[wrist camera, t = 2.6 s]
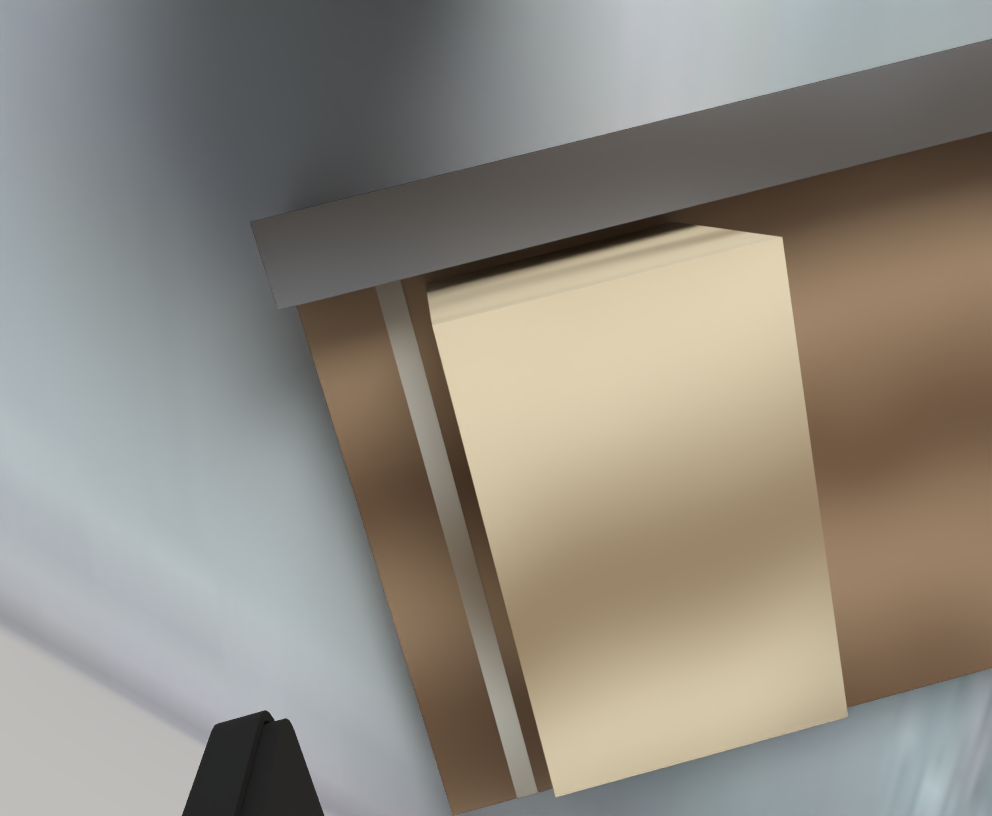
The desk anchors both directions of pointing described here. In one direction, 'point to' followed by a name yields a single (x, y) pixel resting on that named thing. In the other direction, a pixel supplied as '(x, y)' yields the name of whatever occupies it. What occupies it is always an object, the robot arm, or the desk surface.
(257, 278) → the desk surface
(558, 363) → the block
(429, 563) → the walnut board
